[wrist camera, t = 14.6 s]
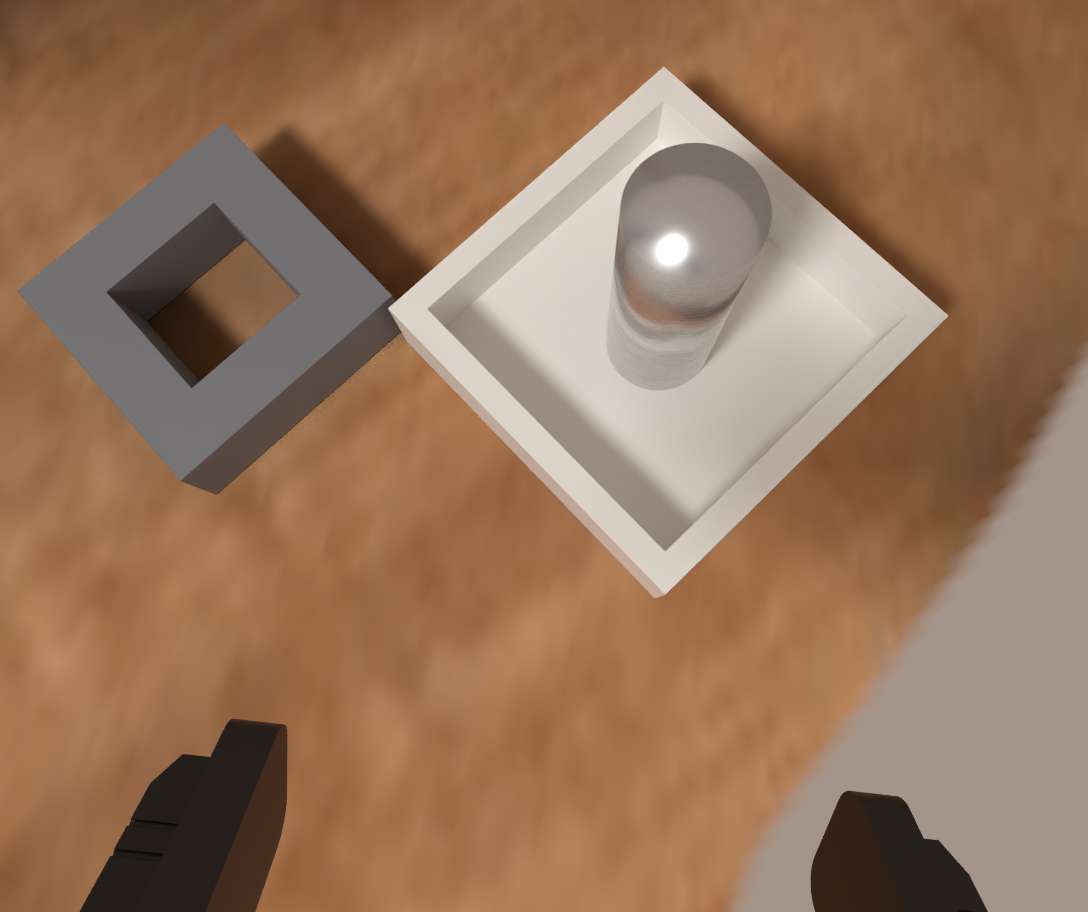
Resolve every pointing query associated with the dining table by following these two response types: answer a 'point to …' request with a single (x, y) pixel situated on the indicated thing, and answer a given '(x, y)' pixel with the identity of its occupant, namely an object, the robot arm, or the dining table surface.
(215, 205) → the socket block
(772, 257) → the tray
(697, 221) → the pin
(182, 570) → the dining table surface
